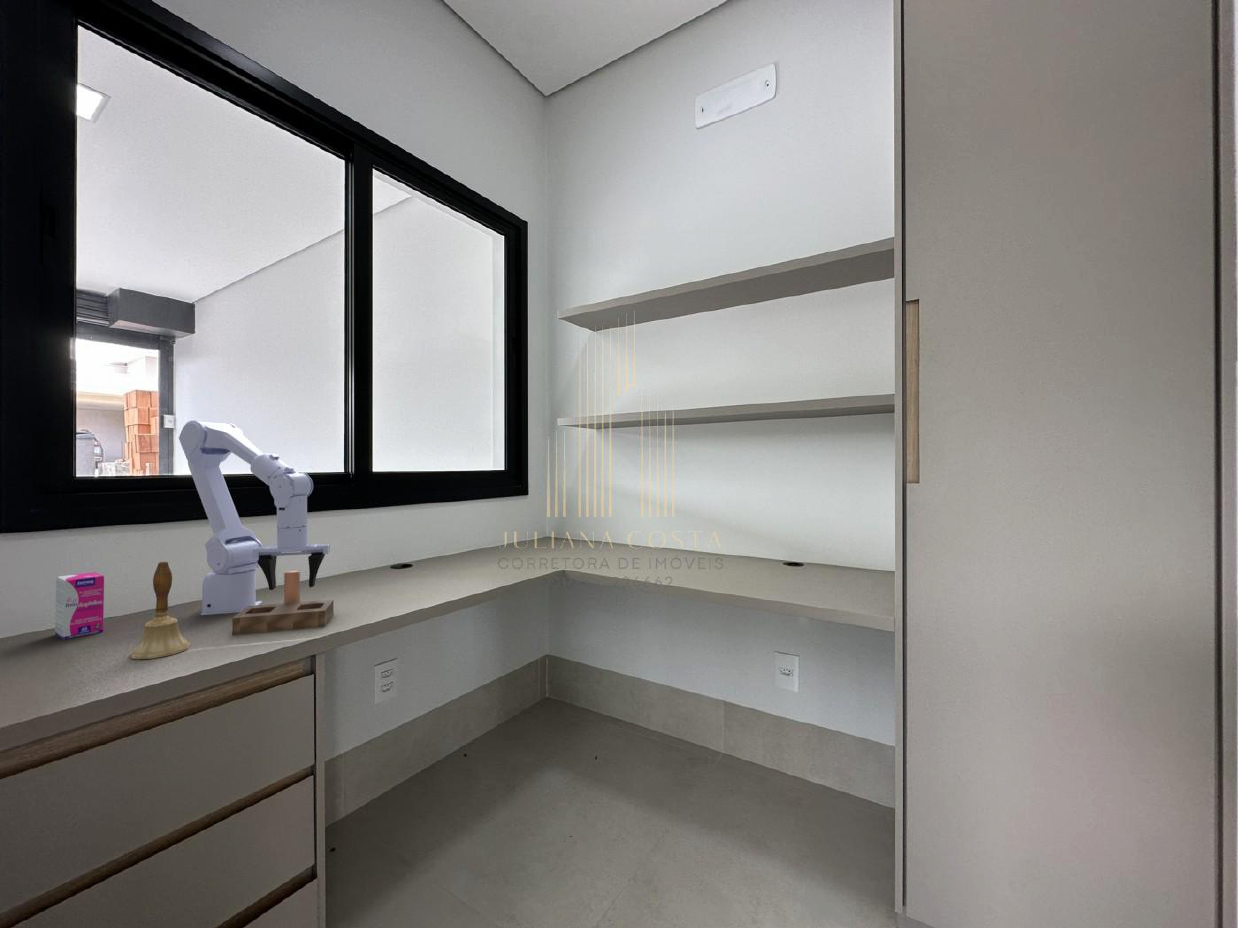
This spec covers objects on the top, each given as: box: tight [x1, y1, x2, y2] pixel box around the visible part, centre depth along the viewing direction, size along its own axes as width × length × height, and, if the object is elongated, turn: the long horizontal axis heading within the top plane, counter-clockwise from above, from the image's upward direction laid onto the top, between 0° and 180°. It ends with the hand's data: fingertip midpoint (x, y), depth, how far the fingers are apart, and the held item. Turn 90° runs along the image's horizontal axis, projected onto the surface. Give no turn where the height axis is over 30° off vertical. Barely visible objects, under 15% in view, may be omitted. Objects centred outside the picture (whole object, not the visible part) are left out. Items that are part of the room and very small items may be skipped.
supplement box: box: [54, 571, 105, 641], centre depth 103 cm, size 6×6×12 cm
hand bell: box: [129, 561, 192, 660], centre depth 93 cm, size 8×8×16 cm
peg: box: [283, 570, 301, 603], centre depth 116 cm, size 3×3×9 cm
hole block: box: [231, 599, 334, 636], centre depth 108 cm, size 16×9×4 cm, turn 109°
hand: (292, 587), depth 116 cm, fingers open, 7 cm apart
